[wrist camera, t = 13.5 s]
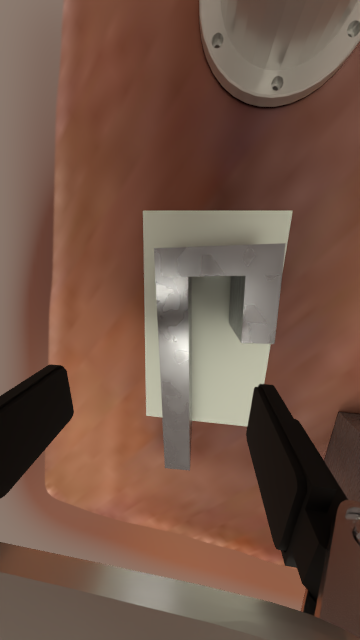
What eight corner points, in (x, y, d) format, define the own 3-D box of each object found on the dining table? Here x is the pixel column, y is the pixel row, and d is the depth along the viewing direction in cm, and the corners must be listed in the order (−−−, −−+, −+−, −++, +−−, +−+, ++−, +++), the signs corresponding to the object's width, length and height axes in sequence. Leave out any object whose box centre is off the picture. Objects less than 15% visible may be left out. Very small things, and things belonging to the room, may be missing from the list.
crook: (167, 256, 18) (153, 248, 13) (256, 253, 18) (285, 243, 12) (173, 419, 23) (165, 468, 17) (243, 424, 22) (259, 476, 16)
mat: (144, 211, 18) (143, 210, 18) (290, 212, 17) (292, 210, 16) (147, 413, 24) (146, 415, 23) (255, 424, 23) (256, 427, 22)
